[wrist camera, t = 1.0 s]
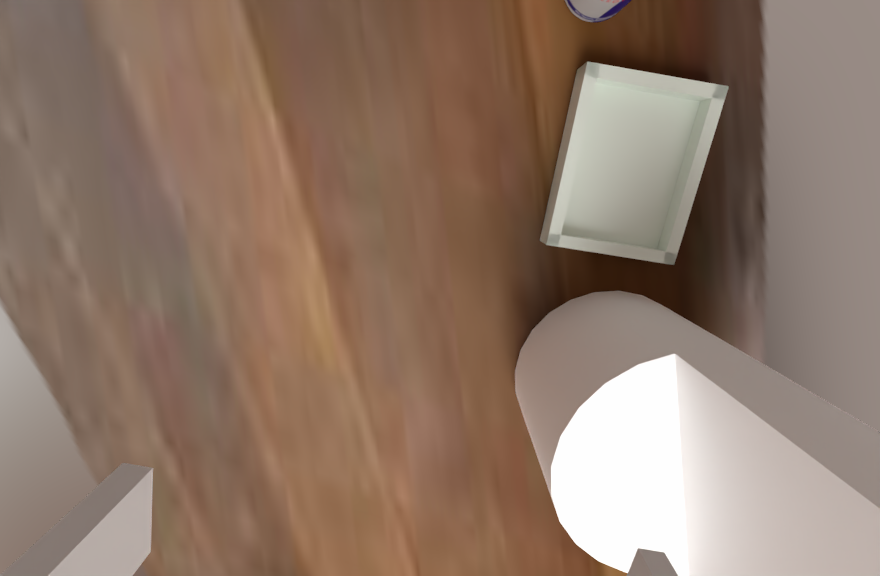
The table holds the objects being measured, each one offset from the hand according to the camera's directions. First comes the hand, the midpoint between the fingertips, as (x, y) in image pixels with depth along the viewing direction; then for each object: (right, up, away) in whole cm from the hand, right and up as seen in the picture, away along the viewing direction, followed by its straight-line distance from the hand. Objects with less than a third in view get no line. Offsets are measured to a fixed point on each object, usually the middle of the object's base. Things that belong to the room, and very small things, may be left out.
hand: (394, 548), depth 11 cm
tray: (+17, +17, +25) cm, 34 cm away
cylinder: (+17, -1, +30) cm, 34 cm away
